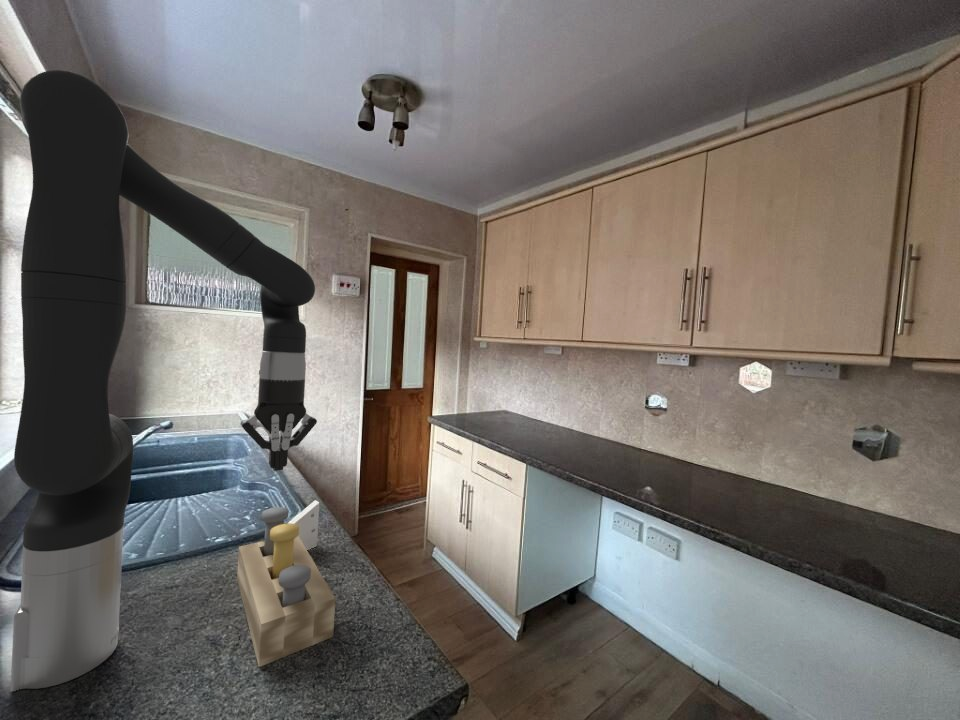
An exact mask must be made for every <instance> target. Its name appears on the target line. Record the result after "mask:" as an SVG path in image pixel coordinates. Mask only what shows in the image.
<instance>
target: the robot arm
mask: <svg viewBox="0 0 960 720" xmlns="http://www.w3.org/2000/svg"><path fill="white" fill-rule="evenodd" d="M19 103H20V114H21V119H22V124H23V127H24V129H25V131H26V133H27V135H28V136H27V137H28V143H29V151H30V158H31V165H32V166H31V167H32V190H31V197H30V203H29V209H28V213H27V218H26V224H25V229H24V234H23V236H24V237H23V242H22V244H23V245H22V251H21V253H22V254H21V266H20V272H21V273H20V287H21V288H20V294H21V295H20V297H21V299H20V300H21V301H20V302H21V303H20V304H21V315H22V355H23V356H22V358H23V369H24V371H23V372H24V374H23V376H24V379H23V381H24V383H23V384H24V385H23V392H22V394H23V395H22V403H21V409H20V414H19V423H18V427H17V432H16V433H17V434H16V441H15V445H14V446H15V448H14V452H13V453H14V454H13V458H14V459H13V460H14V461H13V463H14V467H15V471H16V473H17V476H18V477H19V478H20V480H21V481H22V482H23V483H24V484H25V485H26V486H27V487H29V488H31V490H33V491H36V492H38V497H37V500H36V501H35V505H34V507H33V509H32V511H31V513H30V515H29V517H28V518H27V520H26V522H25V525H24V526H23V527H24V528H23V535H22V537H23V541H22V545H23V546H22V547H23V548H22V564H21V566H22V568H21V582H20V583H21V584H20V585H21V587H20V588H21V589H20V604H19V607H18V608H17V610H16V611H15V612H14V613H15V614H14V615H13V627H12V628H13V629H12V632H13V633H12V651H11V652H12V654H11V670H10V671H11V672H10V673H11V674H10V675H11V676H10V692H11V693H13V692H12V691H14V692H16V690H17V691H20V690H23V689H33V690H34V689H35V690H37V689H44V688H50V687H54V686H57V685H61V684H64V683H67V682H70V681H72V680H74V679H77V678H79V677H81V676H83V675H85V674H87V673H88V672H90V671H92V670H93V669H95V668H97V667H98V666H100V665H101V664H102V663H103V662H105V661H107V659H108V658H109V657H110V656H112V654H114V652H115V650H116V649H117V646H118V645H119V643H118V642H119V631H120V627H119V623H120V606H121V604H120V603H121V591H122V590H121V589H122V588H121V584H122V570H123V569H122V568H123V567H122V566H123V550H124V548H123V547H124V529H125V528H124V527H125V513H126V509H127V505H128V502H129V498H130V493H131V482H132V472H133V471H132V470H133V459H134V458H133V457H134V438H133V433H132V431H131V429H130V428H129V426H128V425H127V424H126V422H125V421H124V420H123V419H121V418H119V417H118V416H116V415H115V414H111V413H110V407H109V379H110V374H111V369H112V366H113V363H114V360H115V356H116V354H117V352H118V351H117V350H118V347H119V344H120V342H121V337H122V335H123V331H124V326H125V320H126V312H127V274H126V257H125V245H124V244H125V243H124V234H123V227H122V221H121V211H120V210H121V209H120V197H122V198H123V199H126V200H127V201H129V202H131V204H133V205H135V206H137V207H139V209H142V210H143V211H145V212H146V213H148V214H149V215H151V216H153V217H154V218H156V219H157V220H159V221H160V222H161V223H163V224H165V225H166V226H167V227H169V228H171V229H172V231H175V232H176V233H178V234H179V235H181V236H182V237H183V238H185V239H186V240H188V241H189V242H190V243H192V244H194V246H196V247H197V248H199V249H200V250H202V251H203V252H205V253H206V255H209V256H210V257H211V258H213V259H214V260H215V261H217V262H218V263H220V264H221V265H222V266H224V267H225V268H227V269H228V270H229V271H231V272H233V273H235V274H237V275H239V276H242V277H246V278H249V279H251V280H253V281H254V282H255V283H257V284H259V285H260V289H259V299H260V301H259V302H260V308H261V316H262V320H263V327H264V328H263V334H262V335H263V337H262V353H261V358H260V362H259V371H258V375H259V377H258V378H259V379H258V396H257V397H258V399H257V405H256V408H255V409H254V411H253V415H251V416H250V417H249V418H247V419H243V420H241V421H240V426H241V428H243V430H244V431H245V432H246V433H247V434H248V435H249V436H250V437H251V439H253V441H254V442H255V443H256V444H257V445H258V446H259V447H260V448H261V449H263V450H268V464H269V467H270V469H271V470H273V472H277V471H278V472H279V471H283V470H284V468H285V467H287V464H288V457H289V456H288V453H289V452H288V451H289V449H290V448H292V447H297V446H299V445H300V444H301V443H302V442H303V440H304V439H305V438H306V436H308V434H309V433H310V432H311V430H312V429H313V428H315V426H316V425H317V423H318V420H317V419H316V418H315V417H313V416H311V415H309V414H308V413H307V409H306V407H305V391H306V390H305V389H306V388H305V387H306V371H307V368H306V367H307V365H306V364H307V363H306V343H307V340H306V338H307V329H306V326H305V324H304V323H303V322H301V321H300V312H299V311H300V310H299V307H300V306H304V305H306V304H307V303H309V302H310V301H312V299H313V297H314V295H315V291H316V286H315V283H314V282H315V281H314V279H313V278H312V276H311V275H310V274H309V272H308V271H307V270H305V269H304V267H302V266H301V265H300V264H298V263H297V262H295V261H294V260H292V259H291V258H289V257H288V256H286V255H284V254H282V253H280V252H279V251H277V250H276V249H273V248H272V247H270V246H268V245H266V244H265V243H264V242H262V240H261V239H259V238H258V237H257V236H256V235H254V234H253V233H252V232H251V231H250V230H249V229H247V228H246V227H245V226H243V225H242V224H241V223H239V221H237V220H236V219H234V218H233V216H230V215H229V214H228V213H226V211H224V210H222V209H220V208H219V207H217V206H216V205H215V204H212V203H210V202H208V201H207V200H206V199H203V198H201V197H200V196H198V195H196V194H194V193H193V192H191V191H189V190H187V189H185V187H182V186H181V185H179V184H177V183H176V182H175V181H172V179H169V178H168V177H167V176H165V175H164V174H163V173H161V172H160V171H158V170H157V169H156V168H155V167H153V166H152V165H151V164H150V163H148V162H147V161H146V160H145V159H144V158H143V157H142V156H141V155H140V154H139V153H137V151H135V149H133V148H132V147H131V145H130V144H129V137H130V136H129V134H130V133H129V127H128V123H127V121H126V118H125V115H124V114H123V112H122V110H121V108H120V107H119V105H118V104H117V102H116V101H115V100H114V99H113V98H112V96H111V95H110V94H109V93H108V92H107V91H105V89H104V88H102V87H101V86H99V85H98V84H97V83H95V82H94V81H92V80H90V79H89V78H88V77H85V76H83V75H81V74H79V73H75V72H71V71H68V70H67V71H66V70H60V69H59V70H57V69H56V70H55V69H54V70H47V71H46V70H45V71H43V72H39V73H38V74H36V75H34V76H33V77H31V78H30V79H29V80H28V81H27V82H25V84H24V85H23V87H22V89H21V91H20V97H19ZM258 422H259V423H260V424H261V425H262V427H263V428H264V429H265V430H266V431H267V433H268V435H267V436H268V439H267V440H266V439H265V438H264V437H263V436H262V435H261V434H260V433H259V432H258V431H257V428H258V427H259V425H258ZM299 423H301V425H300V426H299V428H298V429H297V430H296V431H295V432H294V433H292V432H293V430H294V429H295V428H297V426H298V425H299ZM19 689H20V690H19Z"/></svg>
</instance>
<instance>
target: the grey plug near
mask: <svg viewBox="0 0 960 720" xmlns="http://www.w3.org/2000/svg"><path fill="white" fill-rule="evenodd" d="M310 577H311V569H310V567H308V566H306V565H294V566H290V567H288V568H286V569H284V570H283V571H281V572H280V574H279V585H280V586H281V587H283V604H282V608H284V607H286V606H289V605H292V604H295V603H298V602H301V601H304V595H305V584H306V583H307V582H308V581H309V580H310Z"/></svg>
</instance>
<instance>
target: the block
mask: <svg viewBox="0 0 960 720" xmlns="http://www.w3.org/2000/svg"><path fill="white" fill-rule="evenodd" d="M264 541H265V540H263V541H262V540H261V541H258V542H254V543H249V544H245V545H239V547H238V554H237V555H238V556H237V557H238V558H237V571H236V572H237V575H236V580H237V584H238V588H239V592H240V595H241V600H242V603H243V609H244V612H245V616H246V620H247V621H246V622H247V624H248V628H249V633H250V637H251V641H252V646H253V650H254V652H255V657H256V662H257V666H258V668H260V667H263V666H265V665H268V664H270V663H273V662H275V661H277V660H280V659H282V658H285V657H288V656H290V655H292V654H295V653H297V652H299V651H301V650H305V649H307V648H308V647H311V646H314V645H316V644H320V643H322V642H324V641H326V640H328V639H329V640H330V638H333V637H334V628H335V627H334V626H335V613H336V612H335V609H336V596H335V595H334V593H333V592H332V590H331V589H330V587H329V585H328V583H327V582H326V579H324V576H323V575H322V573H321V572H320V570H319V568H318V567H317V565H316V563H315V561H314V559H313V558H312V556H311V555H310V553H309V552H308V551H307V550H306V548H305V546H304V545H303V543H302V541H301V540H300V538H299V536H297V537H296V538H294V549H293V566H294V565H306V566H308V567H310V569H311V577H310V580H309V581H308V582H307V583H306V584H305V595H304V601H301V602H298V603H295V604H292V605H289V606H286V607H284V608H282V604H283V587H281V586H280V585H279V578H276V579H273V580H272V572H273V555H274V554H273V555H269V556H265V557H264Z"/></svg>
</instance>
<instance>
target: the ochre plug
mask: <svg viewBox="0 0 960 720" xmlns="http://www.w3.org/2000/svg"><path fill="white" fill-rule="evenodd" d="M298 535H299V526H298V525H296V524H288V523H284V524H281V525H278V526H275V527H273V528H272V529H271V530H270V539H271V540H272V541H274V555H273V572H272V580H273V579H276V578H279V574H280V572H281V571H283V570H284V569H286V568H288V567H290V566H293V549H294V538H296V537H297V536H298Z"/></svg>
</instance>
